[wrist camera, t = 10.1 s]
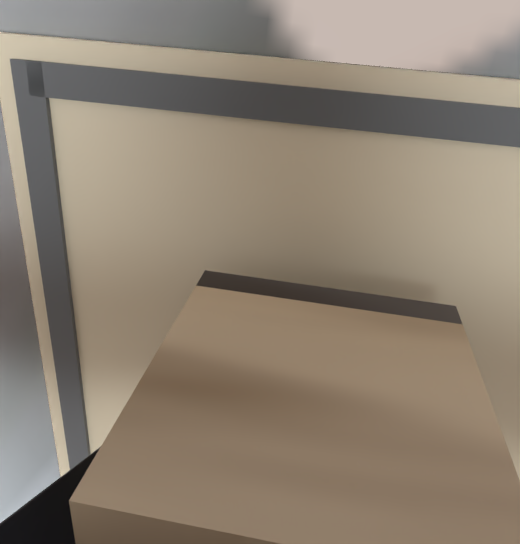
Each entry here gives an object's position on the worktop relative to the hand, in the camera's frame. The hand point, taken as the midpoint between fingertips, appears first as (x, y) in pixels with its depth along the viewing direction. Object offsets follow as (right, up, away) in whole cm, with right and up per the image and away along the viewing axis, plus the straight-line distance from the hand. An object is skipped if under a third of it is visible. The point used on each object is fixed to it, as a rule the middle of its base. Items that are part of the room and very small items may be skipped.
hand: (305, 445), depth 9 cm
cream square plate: (0, +1, +2) cm, 3 cm away
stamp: (0, +1, +1) cm, 2 cm away
